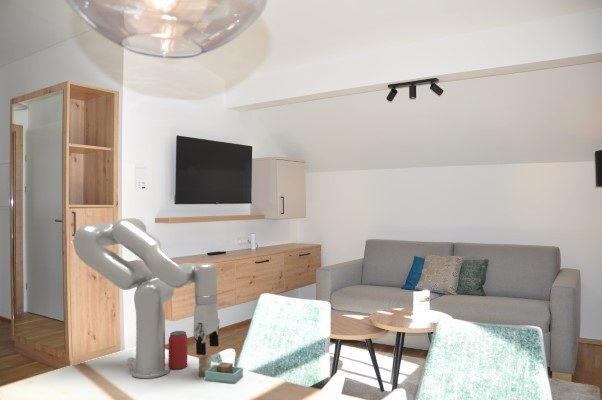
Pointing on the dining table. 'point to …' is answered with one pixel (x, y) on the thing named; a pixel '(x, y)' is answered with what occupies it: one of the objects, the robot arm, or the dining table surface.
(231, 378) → the tote
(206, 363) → the beech dowel
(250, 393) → the dining table surface
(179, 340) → the beer can
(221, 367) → the walnut cube
